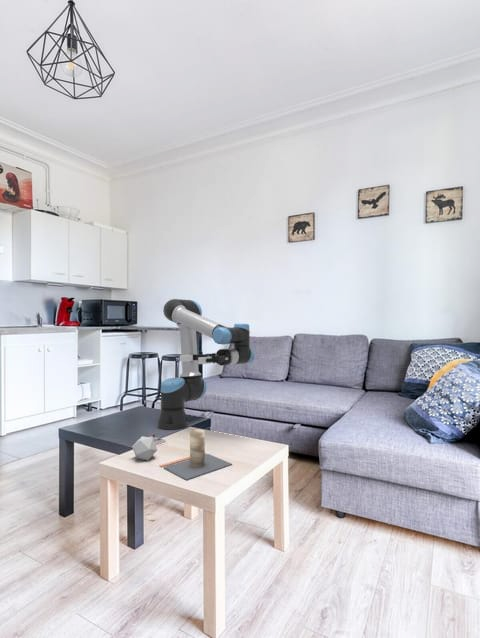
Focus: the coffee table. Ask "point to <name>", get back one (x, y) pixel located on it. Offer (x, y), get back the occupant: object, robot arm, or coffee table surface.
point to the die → (144, 448)
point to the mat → (189, 472)
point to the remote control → (157, 440)
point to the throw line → (175, 462)
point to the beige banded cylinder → (197, 448)
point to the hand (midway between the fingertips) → (189, 359)
